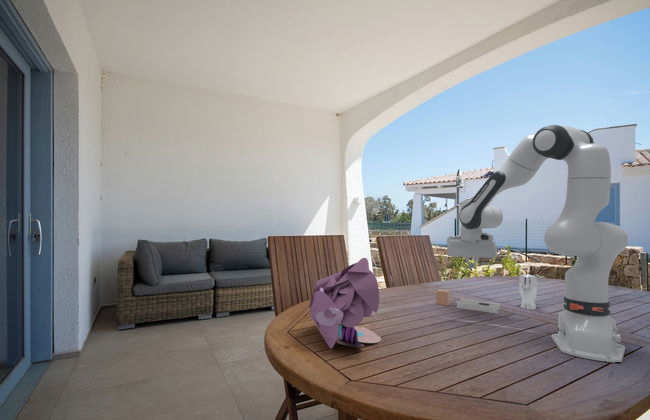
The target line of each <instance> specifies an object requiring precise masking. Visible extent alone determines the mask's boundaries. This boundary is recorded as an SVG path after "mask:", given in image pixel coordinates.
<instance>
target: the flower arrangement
mask: <svg viewBox="0 0 650 420" xmlns="http://www.w3.org/2000/svg"><path fill="white" fill-rule="evenodd" d="M308 307H309V310H310V317H311V319H312V321H313V323H314V324H315V327H316V328H317V329H318V331H319V332H320V334H321V336H322V337H323V339H324V341H325V343H326V345H327V346H328V347H329V349H330V350H331V349H333V348H334V346H335V344H336V343H337V344H340V345H344V346H347V347H354V348H361V347H364V346H365V345H364V344H376V343H379V342H381V340H382V337H381V336H380V335H378V334H377V333H375V332H374V331H372V330H370V329H369V328H366V327H364V326H362V325H361V326H360V327H359V325H360V323H361V322H362V321H363V318H370V317H371V316H372V314H373V312H374V313H375V314H377V312H378V311H379V307H380V287H379V283H378V279H377V277H376V276H375V274H374V272H373V271H372V270H370V265H369V259H368V258H366V257H362V258H360V259H359V260H358V261H357V262H355V263H353V264H350V265H348V266H347V267H345V268H344V269H343V270H341V271H339V272H337V273H334V274H331V275H329V276H326V277H324V278H321V279H319V280H317V281H316V283H315V286H314V289H313V292H312V296H311V299H310V301H309V306H308ZM362 343H364V344H362Z"/></svg>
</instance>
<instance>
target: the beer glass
mask: <svg viewBox="0 0 650 420" xmlns="http://www.w3.org/2000/svg"><path fill="white" fill-rule="evenodd" d="M537 277H538V276H537V275H533V274H519V279H518V281H519V282H518V288H519V290H518V291H519V295H520V299H521V301H520V303H521V304H520V308H521V309H526V310H536V309H537V307H536V299H537V293H538V279H537Z"/></svg>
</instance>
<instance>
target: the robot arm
mask: <svg viewBox="0 0 650 420" xmlns="http://www.w3.org/2000/svg"><path fill="white" fill-rule="evenodd" d="M609 153H610V152H609V150H608V148H607V147H606V146H605V145H602V144H599V143H595V141H594V138H593V137H592V136H591V134H590V133H588V132H587V131H585V130H583V129H577V128H574V127H572V126H568V125H567V126H566V125H559V124H551V125H546V126H543V127H542V128H540V129H538V130H537V131H536V133H532V134H531V133H530V134H527V135H525V136H524V137H523V139H521V140H520V142H519V143H518V144H517V145H516V146H515V148H514V149H513V150H512V151H511V153H510V155H509V156H508V158H507V159H506V161H505V162H504V163H502V165H501V166H500V168H498V170H496V171H495V172H493V173H492V174H491V175H490V176H489V177H488V178H487V179H486V180H485V182H484V184H483V185H482V186H481V187H480V188H479V190H478V191H477V192H476V194H474V196H473V198H469V199H468V198H467V199H464V200H463V201H462V202H461V205H460V210H459V215H458V217H459V218H458V219H459V221H460V235H450V236H448V237H447V238H446V244H447V251H446V253H447V256H448V257H453V258H454V257H456V258H457V257H458V258H464V260H465V261H466V263H467V268H468V269H476V268H477V266H476V265H477V263H478V262H479V258H480V259H496V258H498V247H497V244H496V242H495V241H494V235H492V234H489V233H487V232H483V229H484V230H485V229H494V228H498V227H499V226H500V225H501V224H502V222H503V219H504V218H503V217H504V216H503V212H502V210H501V209H500V208H499V207H498V206H494V205H492V204H491V205H490V203H491V202H492V201H493V200H494V199H495V198H496V197H497V195H499V194H500V193H501V192H503V191H506V190H509V189H513V188H516V187H520V186H524V185H525V184H527V183H529V182H530V181H531V180H532V179H533V177H534V176H535V175H536V174H537V173H538V170H539V169H541V168H540V167H541V166H542V165H543V164H544V162H546V160H548V159H553V160H557V161H564V162H565V163H566V164H567V181H566V195H565V201H564V205H563V208H562V211H561V212H560V215H558V218H557V219H556V220H555V221H554V222H553V223H552V224H551V225H549V226H548V227H547V229H546V230H545V232H544V237H543V238H544V239H543V240H544V244H545V246H546V247H547V249H548V250H549V251H550V252H551V253H554V254H556V255H561V256H567V257H576V261H575V263H574V265H573V266H571V267H569V269H567V271H566V272H565V274H564V296H563V300H562V303H563V304H562V306H563V308H564V309H563V310H561V311H560V312H559V313H558V316H557V317H558V318H557V319H558V320H557V321H558V322H557V324H558V325H557V333H552V334H551V336H550V338H551V340H552V341H553V342H554V344H555V345H556V346H557V348H558V349H559V351H560V352H562V353H563V354H567V355H570V356H573V357H577V358H582V359H587V360H591V361H592V360H593V361H598V362H599V361H600V362H605V361H606V363H615V362H621V363H622V362H623V360H624V359H623V358H624V356H625V352H626V346H625V345H623V344H621V343H622V341H621V339H622V337H621V334H620V333H619V327H617V323H616V320H615V319H614V318H613V317H611V309H612V308H611V303H610V301H609V279H610V278H609V277H610V274H611V270H612V267H613V264H614V262H615V261H616V258H617V257H618V256H619V255H620V254H621V253H622V252H623V251H624V250H625V249H626V248H627V247H628V243H629V237H628V233H627V231H626V230H625V229H624V228H623V227H622V226H620V225H617V224H613V223H611V222H610V223H609V222H604V221H596V218H597V216H598V215H599V213H600V212H601V211H602V210H603V209H605V208H606V207H607V206H608V205H609V203H610V197H611V184H612V183H611V180H612V179H611V178H612V171H611V170H612V168H611V165H612V164H611V158H610V157H611V156H610V154H609ZM470 258H473V260H474V262H473V263H471V262H470ZM619 343H620V344H619Z"/></svg>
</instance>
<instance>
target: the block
mask: <svg viewBox="0 0 650 420" xmlns="http://www.w3.org/2000/svg"><path fill="white" fill-rule="evenodd" d="M451 294H452V293H451V290H450V289H441V288H439V289H437V290H436V297H435V298H436V301H435V302H436V305H439V306H441V305H442V306H447V307H448V306H450V305H451V303H452V302H451V300H452V299H451Z"/></svg>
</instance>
